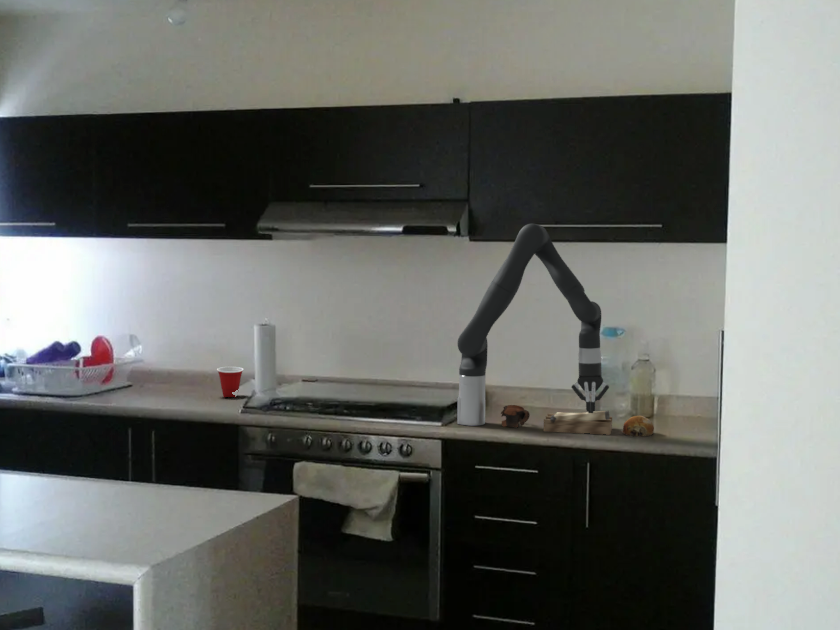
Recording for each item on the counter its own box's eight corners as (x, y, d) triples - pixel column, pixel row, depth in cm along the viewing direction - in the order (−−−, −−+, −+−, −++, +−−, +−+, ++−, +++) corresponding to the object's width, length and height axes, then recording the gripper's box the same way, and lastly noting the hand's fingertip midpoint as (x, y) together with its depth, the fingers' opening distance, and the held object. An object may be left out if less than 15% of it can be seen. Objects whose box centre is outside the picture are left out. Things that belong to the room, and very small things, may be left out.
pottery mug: (493, 427, 317) (495, 405, 321) (510, 436, 323) (512, 414, 327) (521, 423, 309) (523, 400, 313) (538, 432, 315) (539, 409, 319)
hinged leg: (550, 423, 309) (549, 416, 309) (551, 421, 312) (550, 414, 312) (609, 419, 304) (608, 412, 304) (609, 417, 307) (608, 410, 307)
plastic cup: (220, 399, 371) (220, 370, 371) (214, 395, 381) (214, 367, 380) (246, 398, 376) (246, 369, 375) (240, 394, 386) (240, 366, 385)
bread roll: (656, 445, 304) (662, 423, 305) (640, 436, 297) (647, 413, 299) (630, 441, 311) (636, 419, 313) (615, 432, 304) (621, 409, 306)
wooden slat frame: (543, 431, 308) (543, 416, 308) (547, 424, 320) (547, 410, 319) (610, 434, 303) (610, 420, 302) (611, 428, 314) (612, 414, 314)
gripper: (568, 362, 304) (569, 414, 305) (609, 362, 301) (610, 414, 302) (570, 360, 311) (572, 410, 312) (610, 360, 308) (611, 411, 309)
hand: (590, 412), depth 307 cm, fingers closed
